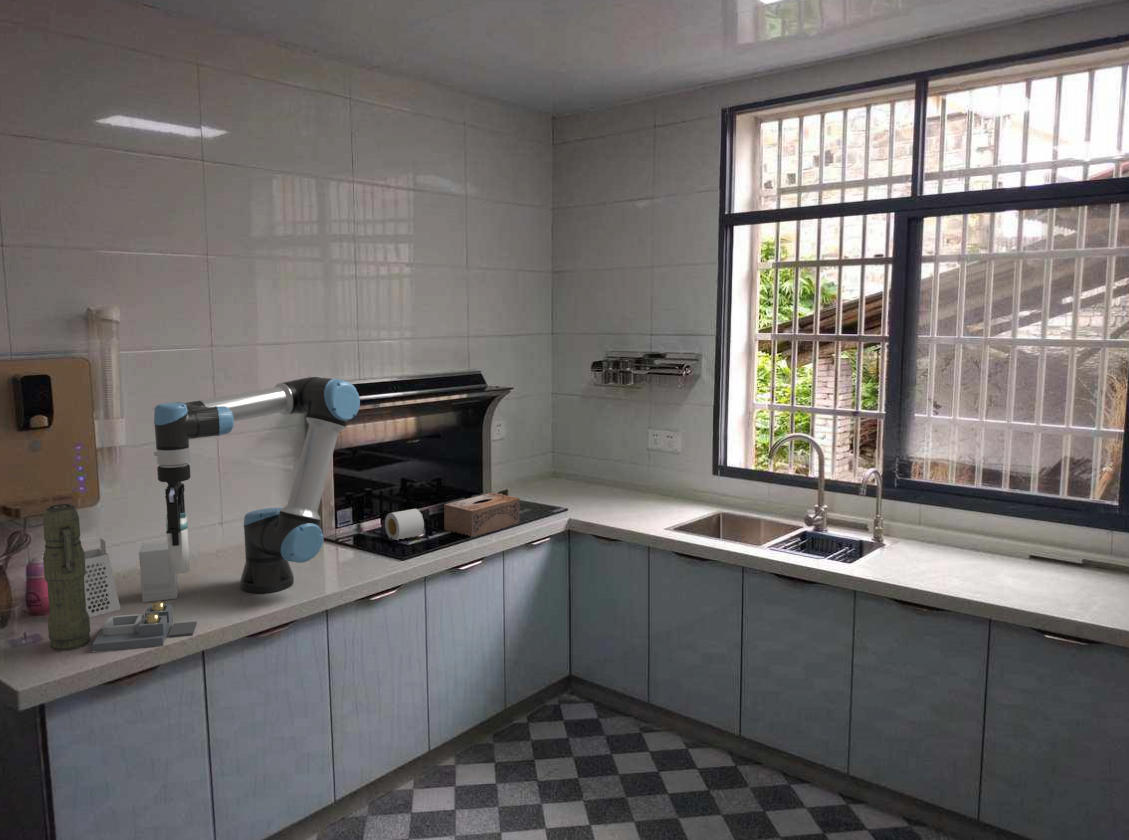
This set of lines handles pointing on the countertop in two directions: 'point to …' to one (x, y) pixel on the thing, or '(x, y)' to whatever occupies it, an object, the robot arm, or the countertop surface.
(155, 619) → the plunger
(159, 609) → the plunger
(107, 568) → the grater
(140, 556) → the supplement box
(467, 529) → the tissue box cover
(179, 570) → the cartridge
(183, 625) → the mat
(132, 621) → the housing
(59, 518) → the thermos
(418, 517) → the toilet paper
